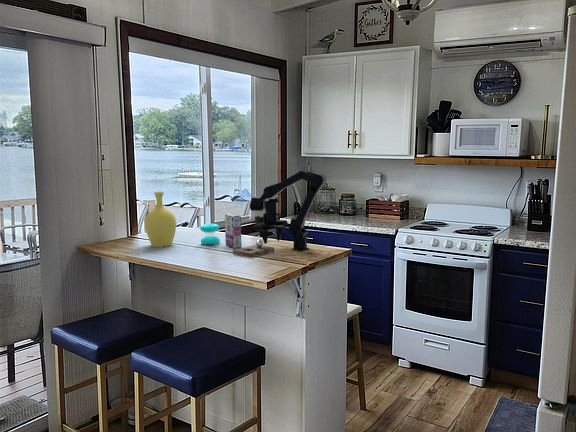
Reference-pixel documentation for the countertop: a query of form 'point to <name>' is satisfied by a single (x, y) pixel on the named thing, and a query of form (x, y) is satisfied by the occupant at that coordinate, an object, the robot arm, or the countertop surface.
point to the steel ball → (259, 243)
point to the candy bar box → (233, 230)
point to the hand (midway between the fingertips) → (271, 242)
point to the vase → (160, 224)
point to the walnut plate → (253, 251)
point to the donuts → (210, 238)
